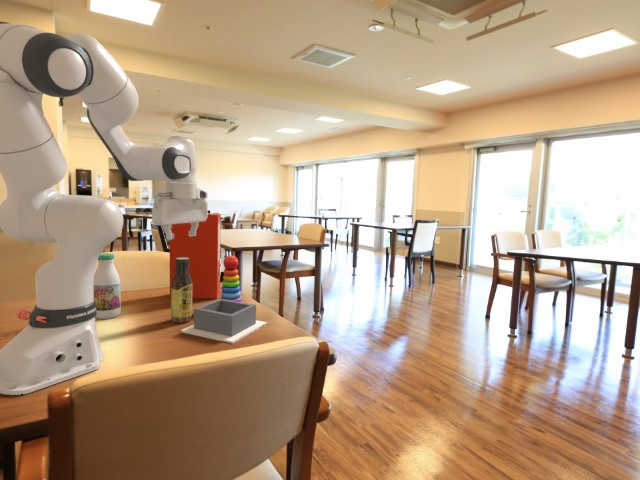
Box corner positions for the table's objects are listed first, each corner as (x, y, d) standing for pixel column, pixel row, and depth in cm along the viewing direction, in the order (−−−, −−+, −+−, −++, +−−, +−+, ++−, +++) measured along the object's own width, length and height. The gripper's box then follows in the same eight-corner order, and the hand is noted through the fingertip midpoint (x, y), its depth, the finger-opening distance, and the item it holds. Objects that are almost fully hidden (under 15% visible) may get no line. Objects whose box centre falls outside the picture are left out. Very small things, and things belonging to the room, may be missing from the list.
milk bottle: (94, 313, 125) (92, 252, 122) (120, 311, 128) (119, 251, 126) (92, 320, 118) (90, 256, 115) (121, 318, 121) (119, 255, 119)
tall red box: (175, 293, 152) (174, 212, 148) (219, 293, 154) (220, 213, 151) (169, 298, 144) (169, 213, 140) (216, 299, 146) (217, 215, 143)
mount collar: (232, 343, 105) (233, 320, 104) (181, 332, 112) (181, 310, 111) (266, 324, 121) (267, 303, 121) (219, 315, 128) (219, 295, 127)
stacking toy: (219, 304, 140) (219, 253, 138) (241, 303, 142) (242, 253, 140) (219, 311, 132) (220, 257, 130) (243, 310, 135) (244, 257, 132)
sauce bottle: (185, 324, 118) (185, 260, 115) (166, 322, 119) (166, 259, 117) (196, 318, 124) (196, 257, 122) (178, 316, 125) (178, 256, 123)
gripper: (163, 192, 106) (163, 242, 108) (211, 193, 125) (211, 235, 127) (146, 191, 108) (147, 240, 110) (195, 192, 127) (195, 234, 129)
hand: (181, 237), depth 119 cm, fingers open, 8 cm apart
